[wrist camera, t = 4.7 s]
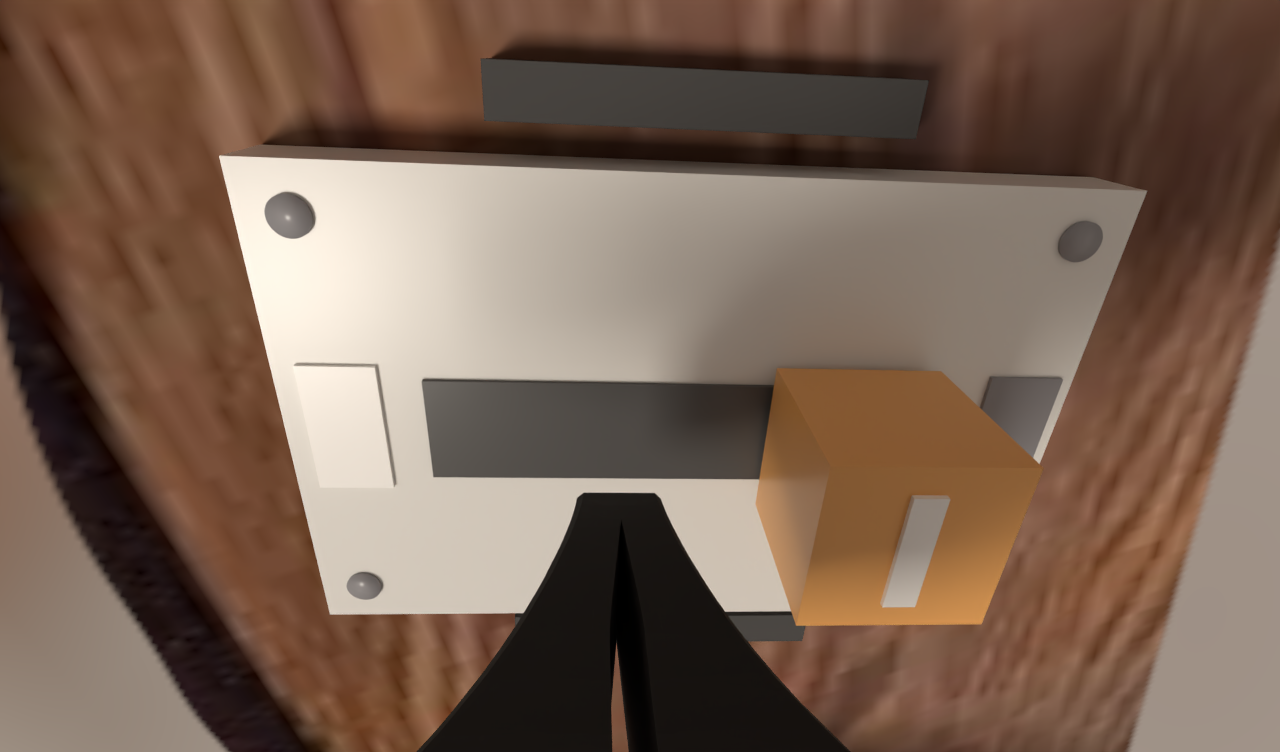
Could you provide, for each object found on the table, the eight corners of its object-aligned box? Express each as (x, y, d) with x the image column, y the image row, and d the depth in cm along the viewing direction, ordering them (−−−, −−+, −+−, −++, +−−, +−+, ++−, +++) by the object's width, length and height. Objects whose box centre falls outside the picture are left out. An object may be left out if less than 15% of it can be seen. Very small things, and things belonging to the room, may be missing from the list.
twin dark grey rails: (792, 613, 19) (802, 640, 18) (520, 614, 18) (516, 643, 17) (905, 78, 12) (929, 80, 12) (490, 58, 12) (480, 58, 11)
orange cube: (902, 504, 15) (984, 628, 12) (755, 504, 15) (797, 630, 11) (941, 371, 13) (1047, 472, 10) (776, 368, 13) (832, 469, 10)
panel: (954, 569, 18) (983, 612, 17) (351, 571, 17) (328, 617, 16) (1093, 177, 13) (1151, 192, 12) (260, 144, 12) (215, 156, 11)
